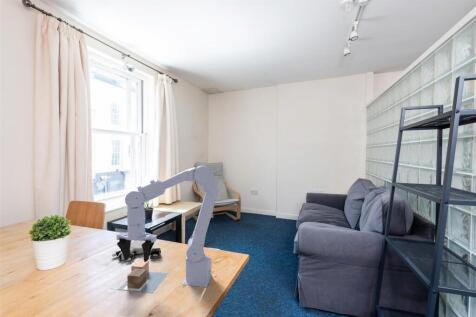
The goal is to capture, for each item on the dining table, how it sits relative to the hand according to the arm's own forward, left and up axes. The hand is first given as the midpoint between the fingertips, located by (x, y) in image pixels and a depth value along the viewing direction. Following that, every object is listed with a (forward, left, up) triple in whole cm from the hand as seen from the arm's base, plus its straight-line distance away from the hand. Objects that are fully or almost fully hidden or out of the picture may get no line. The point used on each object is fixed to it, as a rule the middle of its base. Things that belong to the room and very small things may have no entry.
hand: (136, 259), depth 77 cm
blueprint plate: (-1, -2, -10) cm, 10 cm away
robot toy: (+16, -21, -10) cm, 29 cm away
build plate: (+4, -20, -10) cm, 23 cm away
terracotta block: (+3, -6, -9) cm, 11 cm away
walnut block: (0, 0, -9) cm, 9 cm away
